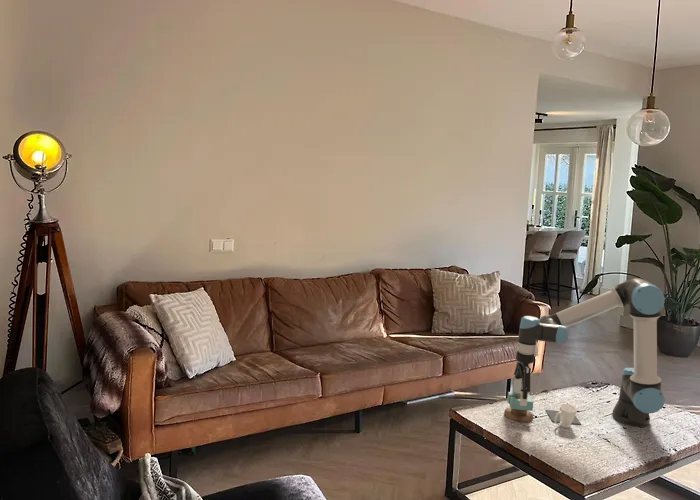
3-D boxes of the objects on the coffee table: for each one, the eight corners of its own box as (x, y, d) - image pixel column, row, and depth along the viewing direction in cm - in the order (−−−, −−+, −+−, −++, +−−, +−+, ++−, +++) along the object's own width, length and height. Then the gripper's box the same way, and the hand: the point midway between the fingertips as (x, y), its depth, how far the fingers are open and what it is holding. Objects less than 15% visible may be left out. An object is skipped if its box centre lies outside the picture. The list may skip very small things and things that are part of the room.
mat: (572, 413, 264) (572, 412, 264) (581, 424, 252) (581, 423, 252) (545, 410, 265) (545, 409, 264) (552, 422, 253) (552, 421, 253)
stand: (529, 411, 262) (531, 389, 260) (535, 423, 250) (538, 400, 249) (501, 409, 263) (504, 387, 261) (507, 421, 251) (509, 397, 249)
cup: (577, 427, 249) (580, 410, 247) (559, 431, 245) (562, 415, 243) (565, 418, 255) (568, 402, 253) (547, 422, 251) (550, 406, 249)
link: (527, 402, 260) (528, 393, 259) (532, 410, 251) (533, 401, 250) (507, 400, 260) (508, 391, 260) (511, 408, 252) (512, 400, 251)
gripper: (511, 342, 265) (505, 387, 268) (523, 361, 240) (516, 410, 243) (527, 344, 264) (522, 388, 267) (541, 362, 240) (535, 411, 243)
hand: (519, 399), depth 255 cm, fingers open, 13 cm apart
